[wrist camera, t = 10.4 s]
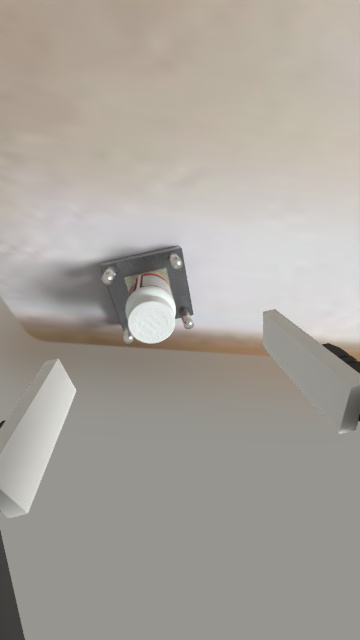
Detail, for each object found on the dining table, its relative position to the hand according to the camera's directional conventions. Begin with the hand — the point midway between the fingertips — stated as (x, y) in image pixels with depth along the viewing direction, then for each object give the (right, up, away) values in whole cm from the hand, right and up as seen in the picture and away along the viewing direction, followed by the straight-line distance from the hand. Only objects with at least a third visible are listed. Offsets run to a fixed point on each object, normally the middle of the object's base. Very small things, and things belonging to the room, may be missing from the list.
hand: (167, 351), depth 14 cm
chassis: (-4, +7, +22) cm, 23 cm away
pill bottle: (-4, +7, +19) cm, 21 cm away
